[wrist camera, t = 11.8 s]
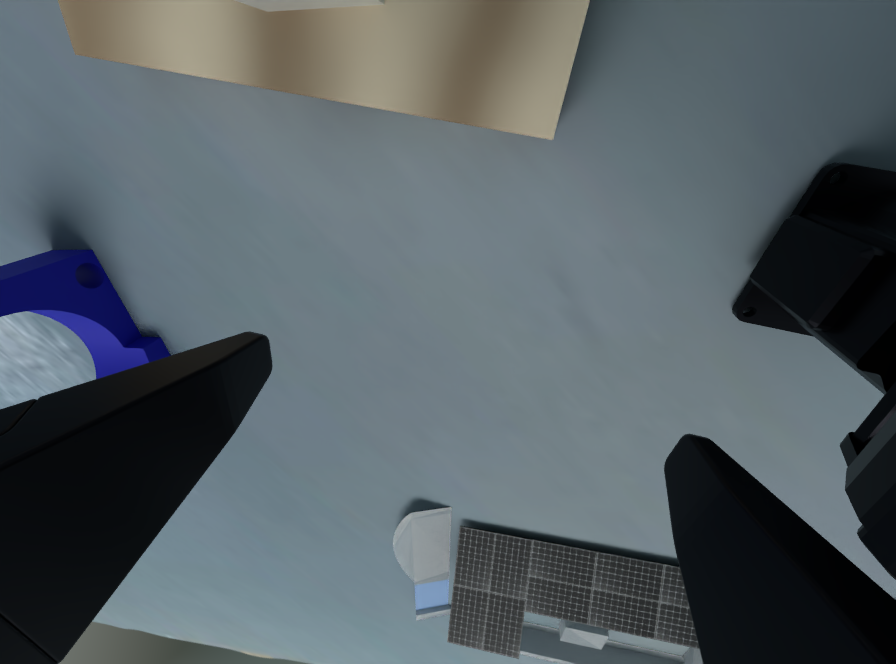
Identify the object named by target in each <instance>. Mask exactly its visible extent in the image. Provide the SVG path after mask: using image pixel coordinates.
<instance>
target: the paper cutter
mask: <svg viewBox="0 0 896 664" xmlns="http://www.w3.org/2000/svg"><path fill="white" fill-rule="evenodd" d="M451 510H452V507H448V508H441V509H434V510H427V511H420V512H413V513H410V514H408V515H407V516H406V517H405V518H404V519H403V520H402V521H401V522H400V524H399V525H398V527H397V529H396V531H395V534H394V539H393V548H394V553H395V556H396V559H397V561H398V563H399V564H400V566H401V568H402V569H403V570H404V572H405V573H406V574H407V575H408V576H409V577H410V578H411V579H412V580H413V581H414V584H415V601H416V618H417V620H422V619H428V618H433V617H438V616H444V615H449V614H450V621H449V630H448V639H447V642H449V643H453V644H457V645H462V646H466V647H470V648H475V649H479V650H483V651H487V652H492V653H496V654H500V655H504V656H509V657H513V658H517V659H519V654H520V655H525V656H529V657H533V658H538V659H542V660H546V661H550V662H555V663H559V664H703V662H702V657H701V653H700V649H699V645H698V641H697V637H696V633H695V628H694V624H693V620H692V616H691V612H690V608H689V604H688V599H687V595H686V591H685V587H684V583H683V579H682V575H681V571H680V567H678V566H673V565H667V564H662V563H657V562H651V561H646V560H641V559H635V558H630V557H625V556H619V555H614V554H609V553H603V552H598V551H593V550H587V549H582V548H577V547H571V546H566V545H561V544H555V543H550V542H545V541H539V540H534V539H529V538H523V537H518V536H513V535H507V534H502V533H497V532H491V531H486V530H481V529H475V528H470V527H465V526H460V531H459V540H458V549H457V558H456V567H455V576H454V585H453V594H452V603H451V605H448V587H449V561H450V536H451ZM524 611H525V612H530V613H535V614H539V615H544V616H549V617H553V618H558V619H561V620H560V623H559V629H556V628H551V627H547V626H542V625H538V624H533V623H529V622H524V621H523V620H524ZM608 629H609V630H613V631H618V632H623V633H627V634H632V635H637V636H641V637H646V638H650V639H655V640H660V641H664V642H669V643H674V644H678V645H683V646H688V647H690V648H689V650H688V651H687V652H686V653H685V654H684V655H683V656H678V655H674V654H669V653H665V652H660V651H656V650H651V649H647V648H642V647H638V646H633V645H629V644H624V643H619V642H615V641H610V640H607V639H608V637H609V635H608Z"/></svg>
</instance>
